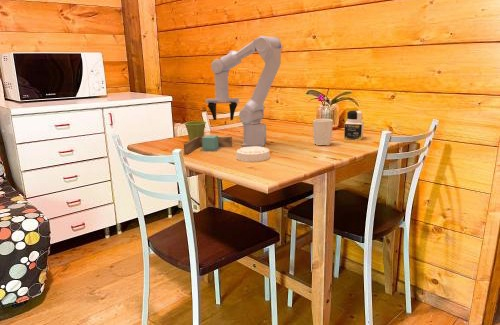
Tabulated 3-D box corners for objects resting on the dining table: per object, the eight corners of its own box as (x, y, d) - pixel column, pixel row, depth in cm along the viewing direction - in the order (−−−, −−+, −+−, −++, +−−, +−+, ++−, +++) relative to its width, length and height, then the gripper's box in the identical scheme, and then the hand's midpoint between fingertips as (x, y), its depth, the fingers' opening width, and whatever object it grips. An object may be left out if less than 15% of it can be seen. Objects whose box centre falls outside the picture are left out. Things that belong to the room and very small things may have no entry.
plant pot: (203, 144, 163) (202, 124, 160) (182, 144, 165) (181, 124, 162) (209, 140, 172) (208, 121, 169) (190, 139, 173) (188, 121, 171)
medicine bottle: (344, 139, 163) (344, 111, 160) (346, 136, 170) (347, 109, 167) (361, 140, 161) (362, 112, 158) (363, 137, 167) (364, 109, 164)
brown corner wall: (232, 146, 157) (231, 136, 156) (222, 155, 142) (221, 144, 141) (197, 145, 160) (197, 136, 159) (184, 154, 146) (183, 144, 145)
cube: (218, 147, 155) (217, 135, 153) (214, 150, 150) (214, 137, 149) (206, 147, 156) (206, 135, 154) (202, 150, 151) (202, 137, 150)
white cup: (334, 142, 157) (334, 118, 155) (329, 146, 151) (330, 121, 148) (315, 141, 161) (316, 118, 158) (310, 145, 154) (310, 121, 151)
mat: (221, 147, 156) (221, 146, 156) (216, 151, 149) (216, 150, 149) (205, 147, 157) (205, 146, 157) (199, 151, 150) (199, 150, 150)
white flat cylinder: (235, 163, 132) (234, 153, 131) (237, 154, 143) (237, 145, 142) (269, 162, 131) (269, 152, 130) (269, 154, 143) (269, 144, 142)
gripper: (202, 89, 160) (204, 121, 164) (235, 88, 157) (237, 121, 161) (207, 88, 167) (209, 118, 170) (239, 87, 164) (241, 118, 167)
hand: (223, 119), depth 166 cm, fingers open, 7 cm apart
